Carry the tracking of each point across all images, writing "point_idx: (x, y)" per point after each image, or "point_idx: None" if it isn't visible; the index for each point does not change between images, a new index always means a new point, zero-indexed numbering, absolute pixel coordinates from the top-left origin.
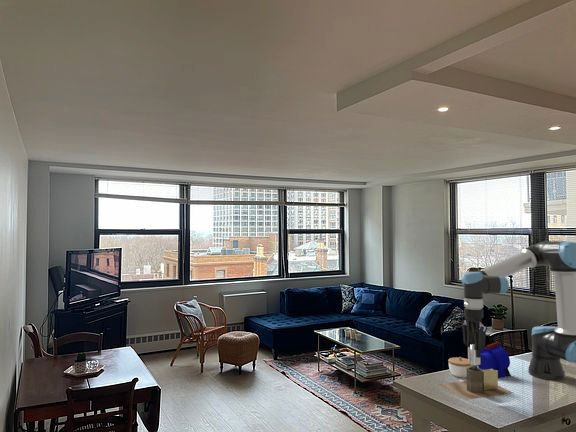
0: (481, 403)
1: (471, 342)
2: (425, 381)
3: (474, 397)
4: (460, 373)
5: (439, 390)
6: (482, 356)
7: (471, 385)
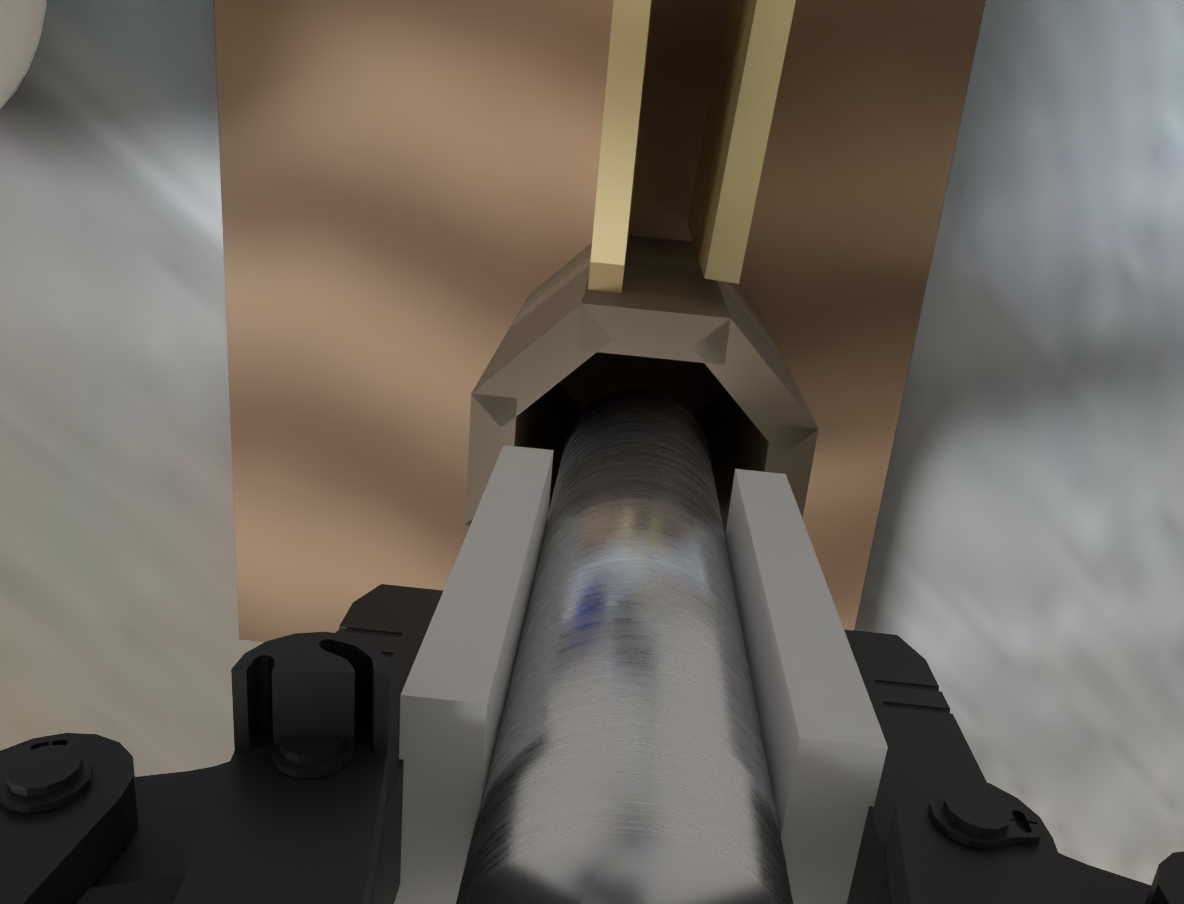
0: (950, 539)
1: (297, 896)
2: (19, 635)
3: (841, 564)
4: (2, 100)
5: None
6: None
7: None
